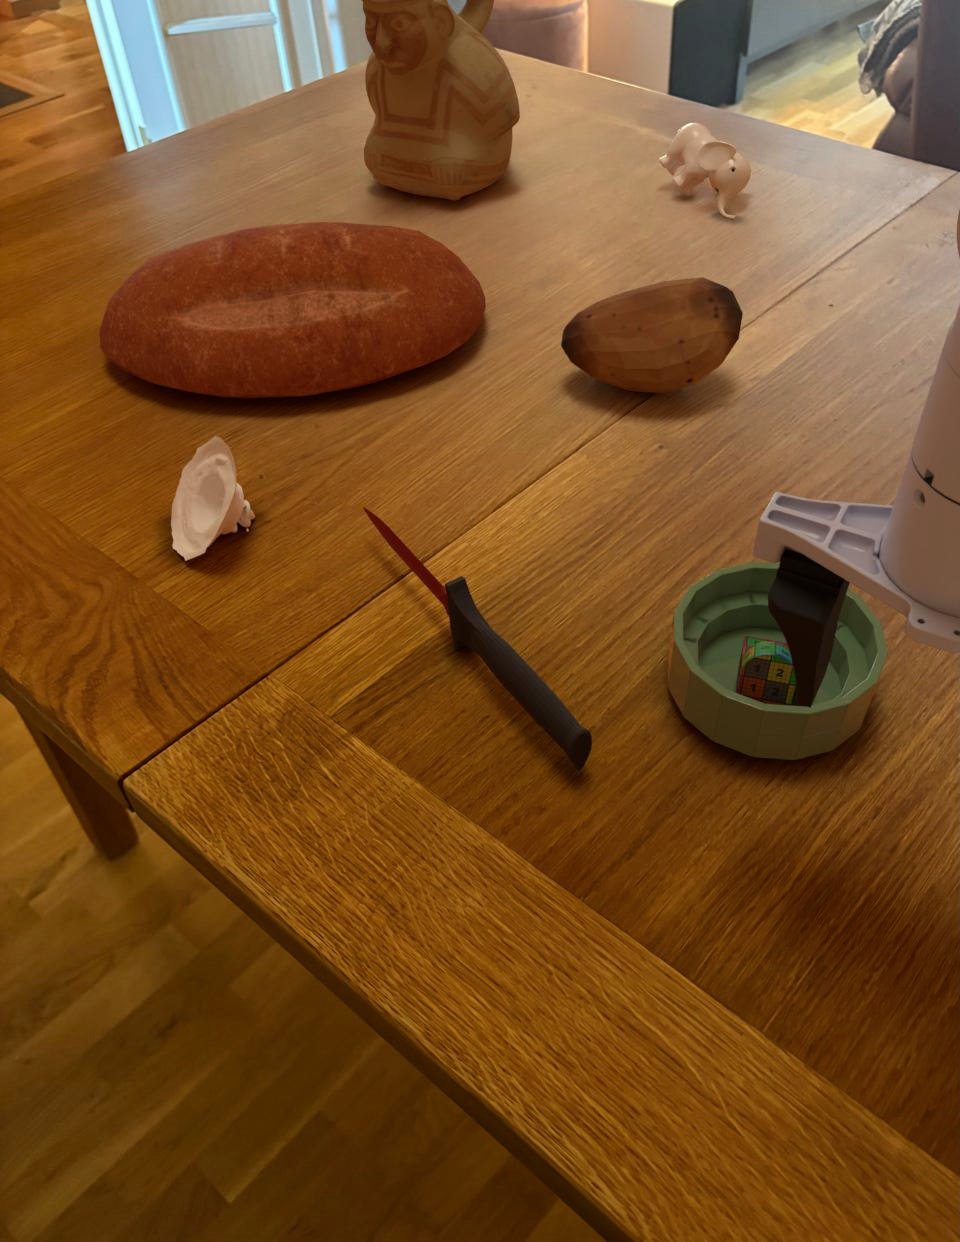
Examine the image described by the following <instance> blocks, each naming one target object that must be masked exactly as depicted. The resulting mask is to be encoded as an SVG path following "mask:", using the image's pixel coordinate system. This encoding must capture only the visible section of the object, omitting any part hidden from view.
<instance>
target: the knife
mask: <svg viewBox="0 0 960 1242" xmlns="http://www.w3.org/2000/svg"><path fill="white" fill-rule="evenodd" d="M362 509H363V511H364V512H365V513H366V515H367V517H368V519H369V520H370V521H371V523H372V524H373V525H374V527H375V528H376V530H377V531H378V532H379V534H380V535H381V536H382V538H383V539H384V540H385V542H387V544H388V545H389V546H390V548H391V549H392V550H393V551H394V552H395V554H396V555H398V557H399V558H400V559H401V560H402V562H404V563H405V564H406V566H408V568H409V569H410V570H411V571H412V572H413V573H414V574H415V576H416V577H417V578H418V579H419V580H420V581H421V583H422V584H423V585H425V587H426V588H427V589H428V590H429V591H430V592H431V593H432V594H433V595H434V596H435V598H436V599H437V600H438V601H439V602H440V603H441V604H442V606H443V607H444V610H445V612H446V614H447V616H448V617H449V628H450V629H449V630H450V633H451V638H452V643H453V648H454V649H456V650H460V649H462V648H463V647H465V646H467V647H468V648H469V649H470V650H472V651H473V652H474V653H475V654H476V655H477V656H478V657H479V658H480V659H481V660H482V662H483V663H484V664H485V666H486V667H487V668H488V669H489V671H490V672H491V674H492V675H493V676H494V677H495V678H496V679H497V681H498V682H499V683H500V684H501V685H502V687H504V688H505V690H507V692H508V693H509V694H510V695H511V696H512V697H513V698H514V700H515V701H516V702H517V703H518V704H519V705H520V707H522V709H523V710H524V711H525V712H526V713H527V714H528V715H529V716H530V717H531V719H532V720H533V721H534V722H535V723H536V724H537V725H538V727H540V728H541V729H542V730H543V731H544V732H545V733H546V734H547V735H548V736H549V737H550V738H551V739H552V740H553V741H554V742H555V743H556V744H557V745H558V746H559V747H560V749H562V751H563V752H564V754H565V755H566V757H567V758H568V760H569V761H570V762H571V764H572V765H573V766H574V768H575V769H576V771H581V770H582V769H583V768H585V765H586V763H587V761H588V758H589V756H590V753H591V751H592V746H593V739H592V738H593V737H592V733H591V731H590V730H588V729H587V728H586V727H583V726H582V725H581V724H580V723H579V721H578V720H577V719H576V717H575V716H574V715H573V714H572V713H571V711H569V709H568V708H567V706H566V705H565V704H564V703H563V702H562V700H561V699H560V698H559V696H557V694H556V693H555V692H554V691H553V690H552V689H551V688H550V687H549V686H548V684H546V682H544V680H543V679H542V678H541V677H540V676H539V675H538V674H537V673H536V671H535V670H534V669H533V668H532V667H531V666H530V664H528V663H527V661H526V660H524V658H523V657H522V656H521V655H520V654H519V653H518V652H517V651H516V650H515V649H514V648H513V646H511V645H510V644H509V643H508V642H507V641H506V640H505V639H503V637H502V636H501V635H500V634H498V633H497V632H496V631H495V630H494V629H493V628H492V627H491V625H490V624H489V622H488V621H487V620H486V618H485V617H484V616H483V615H482V613H481V611H480V610H479V609H478V607H477V605H476V603H475V601H474V598H473V596H472V593H471V591H470V589H469V587H468V582H467V579H466V578H465V577H464V576H463V575H460V576H458V577H456V578H454V579H452V580H450V581H448V582H446V583H444V584H442V583H441V582H440V581H439V580H438V579H437V578H436V577H435V575H434V574H433V573H432V572H431V570H429V569H428V568H427V567H426V565H424V564H423V563H422V561H421V560H420V559H419V558H418V557H417V556H416V555H415V554H414V552H412V550H410V548H409V547H408V546H407V545H406V544H405V543H404V542H403V541H402V539H400V538H399V537H398V535H397V534H396V533H395V532H394V531H393V530H392V528H390V527H389V525H387V524H386V523H385V522H384V521H383V520H382V519H381V518H380V517H378V516H377V515H376V514H375V513H374V512H373V511H371V510H369V509H368V508H366V507H364V506H362Z"/></svg>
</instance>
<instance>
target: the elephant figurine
mask: <svg viewBox="0 0 960 1242" xmlns="http://www.w3.org/2000/svg"><path fill="white" fill-rule="evenodd" d="M658 161H659V163H660V164H661V166H662V167H663V168H664V169H666V170H667V172H668V173H669V174H670V175H671V176H673V178H672V181H673V183H674V185H675V186H676V187H677V188H678V189H679V190H680V191H682V193H683V194H684V195H685V196H686V197H689V196H690V195H691V193H692V191H693V189H694V188H696V187H697V186H699V185H701V184H702V183H704V181H706V180H707V179H708V183H709V184H710V186H711V188H712V190H713V191H714V192H715V195H716V197H717V198H716V208H717V211H718V212H719V214H720V215H721V216H722V217H723V218H725V219H728V220H737V218H738V217H739V215H732V214H728V213H726V211H725V206H726V204H727V203H728V202H729V201H730V200H731V199H732V198H734V197H735V196H736V195H738V194H739V193H741V192H742V191H743V190H744V189H745V188H746V187H747V185H748V183H749V181H750V180H751V174H752V172H753V171H754V167H753V166H752V165H750V163H749V161H748V160H747V158H746V157H745V156H744V155H743V154H741V153H739V152H737V148H736V147H735V146H734V145H733V144H731V143H730V142H727V141H722V140H717V138H715V137H714V136H713V134H712V133H711V132H710V130H709V129H708V128H707V127H706V126H705V125H704V124H702V123H700V122H690V123H687V124H685V125H682V126H680V128H678V130H677V131H676V135H675V136H674V137H673V139H672V141H671V143H670V145H669V147H668V148H667V151H666V154H665V155H664V156H662V157H661V156H660V157H659V159H658ZM682 166H683V167H682ZM680 167H682V169H681V170H680V173H679V174H677V175H676V176H674V175H675V173H676V172H677V170H678V169H679V168H680Z"/></svg>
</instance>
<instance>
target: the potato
mask: <svg viewBox="0 0 960 1242" xmlns="http://www.w3.org/2000/svg"><path fill="white" fill-rule="evenodd" d="M742 310H743V309H742V308H741V305H740V304H739V302H738V300H737V298H736V296H735V293H734V291H733V290H731V289H730V288H729V287H727V286H725V285H723V284H720V283H718V282H716V281H713V280H710V279H708V278H706V277H692V278H681V279H671V280H664V281H660V282H656V283H651V284H648V285H645V286H641V287H637V288H633V289H630V290H626V291H623V292H620V293H618V294H615V295H612V296H610V297H607V298H603V299H601V300H598V301H595V303H592V304H591V305H589V306H588V307H585V308H584V309H582V310H581V311H579V312H577V313H576V314H575V315H574V316H573V317H572V318H571V320H570V321H569V322H568V323H567V324H566V325H565V327H564V329H563V330H562V336H561V342H560V343H561V344H560V347H561V348H562V350H563V352H564V353H565V355H566V357H567V358H568V360H569V361H570V362H569V363H571V364H573V365H574V366H575V367H576V368H578V369H580V370H581V371H582V372H584V373H586V374H587V375H588V376H590V377H592V378H594V379H595V380H596V381H598V382H600V383H603V384H606V385H608V386H609V385H610V386H612V387H615V388H619V389H622V390H624V391H628V392H638V393H639V392H641V393H654V394H666V393H669V392H672V391H676V390H679V389H683V388H686V387H690V386H694V385H695V384H696V383H698V382H699V381H701V380H702V379H704V378H705V377H706V376H708V375H710V374H711V373H712V372H713V371H715V370H717V369H718V368H719V367H720V366H721V365H722V364H723V363H724V362H725V360H726V358H727V357H728V356H729V354H730V352H731V350H733V348H734V347H735V345H736V344H737V342H738V340H739V339H740V334H741V327H742V321H743V315H744V312H743V311H742Z"/></svg>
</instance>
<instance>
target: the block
mask: <svg viewBox="0 0 960 1242" xmlns="http://www.w3.org/2000/svg"><path fill="white" fill-rule="evenodd" d="M735 693H737V694H740V695H743V696H746V697H748V698H751V699H754V700H756V701H759V702H762V703H764V704H776V705H790V706H791V702H792V697H793V698H796V682H795V674H794V668H793V663H792V658H791V654H790V651H789V648H788V645H787V643H785V642H779V641H774V640H768V639H762V638H757V637H751V636H746V635H745V637H744V642H743V647H742V652H741V657H740V662H739V667H738V674H737V683H736V692H735Z"/></svg>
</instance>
